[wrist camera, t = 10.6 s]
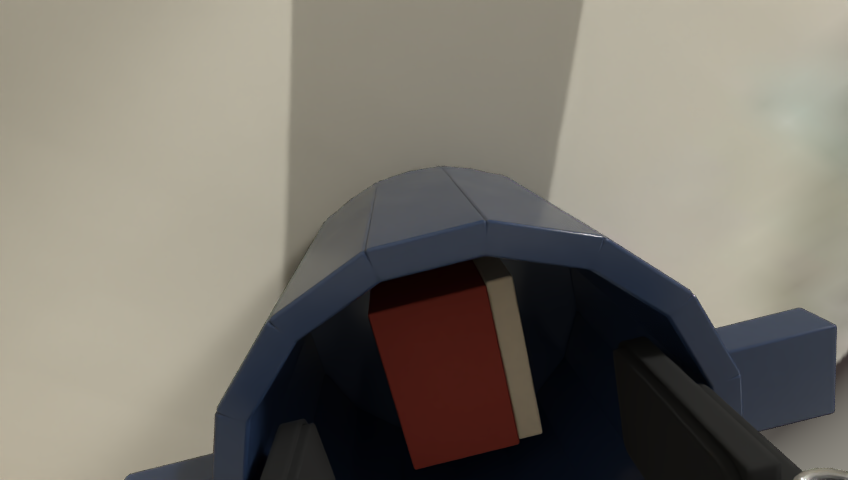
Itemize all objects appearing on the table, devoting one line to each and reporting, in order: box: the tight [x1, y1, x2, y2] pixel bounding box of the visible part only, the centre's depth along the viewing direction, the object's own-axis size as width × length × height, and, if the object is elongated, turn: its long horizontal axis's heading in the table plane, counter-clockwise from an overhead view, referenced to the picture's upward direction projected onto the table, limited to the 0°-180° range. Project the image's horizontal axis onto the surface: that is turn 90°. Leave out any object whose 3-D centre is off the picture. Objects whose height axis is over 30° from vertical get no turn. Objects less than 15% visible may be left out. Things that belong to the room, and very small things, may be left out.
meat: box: [368, 256, 542, 470], centre depth 16 cm, size 6×4×4 cm
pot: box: [124, 166, 837, 480], centre depth 14 cm, size 11×17×8 cm
